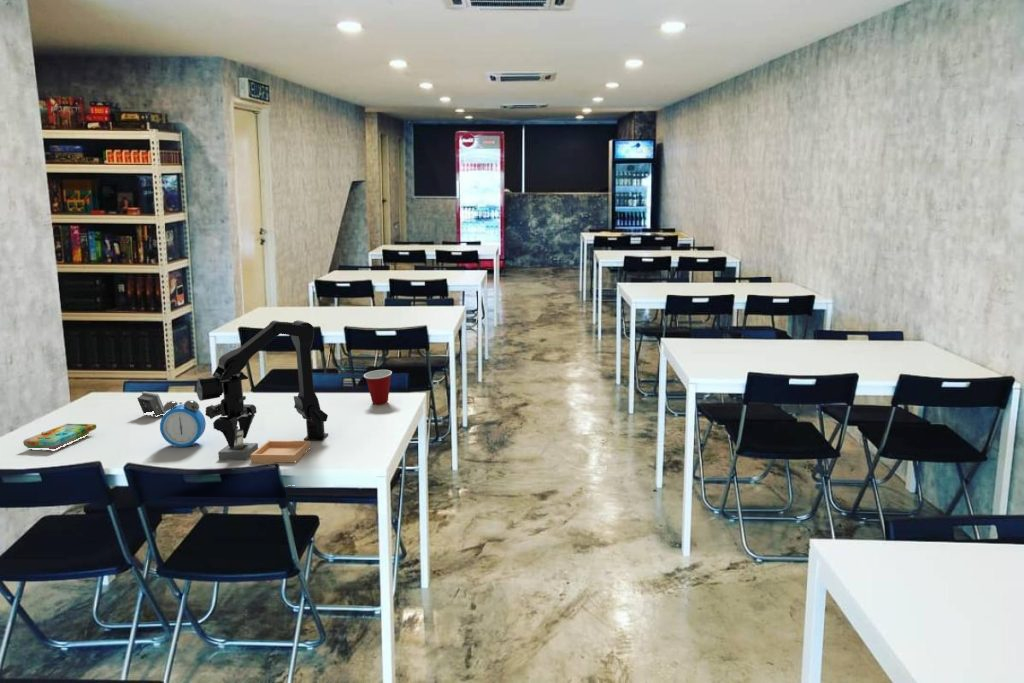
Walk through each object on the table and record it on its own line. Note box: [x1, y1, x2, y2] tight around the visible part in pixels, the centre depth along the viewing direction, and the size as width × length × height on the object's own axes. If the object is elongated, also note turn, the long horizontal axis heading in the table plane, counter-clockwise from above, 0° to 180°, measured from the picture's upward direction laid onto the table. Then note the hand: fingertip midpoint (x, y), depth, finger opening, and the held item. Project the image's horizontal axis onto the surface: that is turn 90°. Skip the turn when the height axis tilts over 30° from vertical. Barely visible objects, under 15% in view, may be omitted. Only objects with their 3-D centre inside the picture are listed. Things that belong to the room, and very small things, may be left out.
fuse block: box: [217, 442, 259, 461], centre depth 262 cm, size 9×9×2 cm
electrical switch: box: [136, 391, 167, 416], centre depth 310 cm, size 9×5×9 cm, turn 57°
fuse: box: [233, 428, 245, 450], centre depth 261 cm, size 4×4×8 cm
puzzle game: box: [22, 423, 97, 449], centre depth 281 cm, size 12×5×20 cm
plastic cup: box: [363, 369, 393, 406], centre depth 318 cm, size 11×11×12 cm
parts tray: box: [250, 440, 311, 464], centre depth 260 cm, size 14×14×2 cm
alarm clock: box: [159, 399, 207, 448], centre depth 273 cm, size 13×6×15 cm, turn 93°
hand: (237, 442), depth 261 cm, fingers open, 9 cm apart
